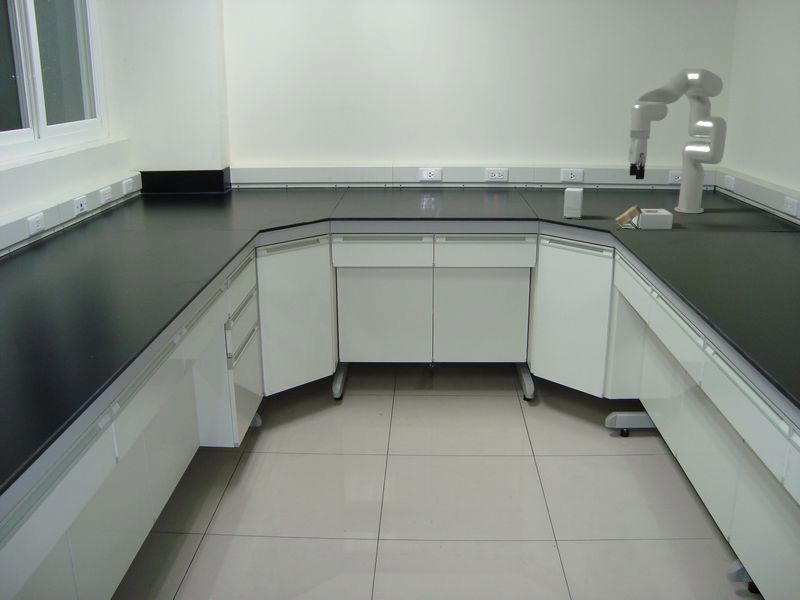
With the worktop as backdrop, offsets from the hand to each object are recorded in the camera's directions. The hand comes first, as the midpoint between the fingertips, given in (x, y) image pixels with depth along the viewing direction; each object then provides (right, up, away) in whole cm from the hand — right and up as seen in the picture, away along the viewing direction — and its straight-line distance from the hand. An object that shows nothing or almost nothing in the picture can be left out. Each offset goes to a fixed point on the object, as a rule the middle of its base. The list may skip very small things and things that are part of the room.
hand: (636, 177), depth 301 cm
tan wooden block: (-7, -19, +2) cm, 20 cm away
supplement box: (-21, -14, +22) cm, 34 cm away
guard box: (+8, -19, +5) cm, 22 cm away
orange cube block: (+8, -19, +5) cm, 21 cm away
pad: (-5, -20, +2) cm, 21 cm away
